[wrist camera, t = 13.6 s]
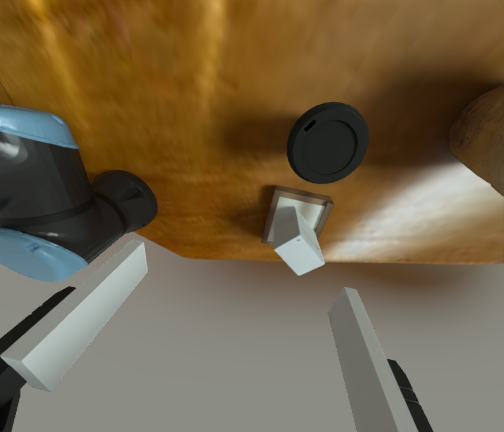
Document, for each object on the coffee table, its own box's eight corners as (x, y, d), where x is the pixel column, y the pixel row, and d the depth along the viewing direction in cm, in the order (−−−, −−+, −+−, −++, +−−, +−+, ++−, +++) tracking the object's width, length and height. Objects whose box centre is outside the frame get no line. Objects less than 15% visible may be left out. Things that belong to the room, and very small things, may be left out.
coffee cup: (305, 171, 39) (319, 202, 26) (273, 135, 36) (270, 148, 23) (349, 135, 35) (391, 150, 22) (316, 90, 32) (342, 77, 19)
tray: (262, 235, 48) (261, 244, 45) (275, 184, 41) (275, 191, 38) (308, 245, 48) (310, 255, 44) (329, 196, 41) (334, 204, 37)
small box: (273, 218, 41) (272, 249, 32) (295, 205, 39) (300, 233, 30) (293, 242, 44) (298, 277, 35) (315, 231, 42) (325, 265, 33)
